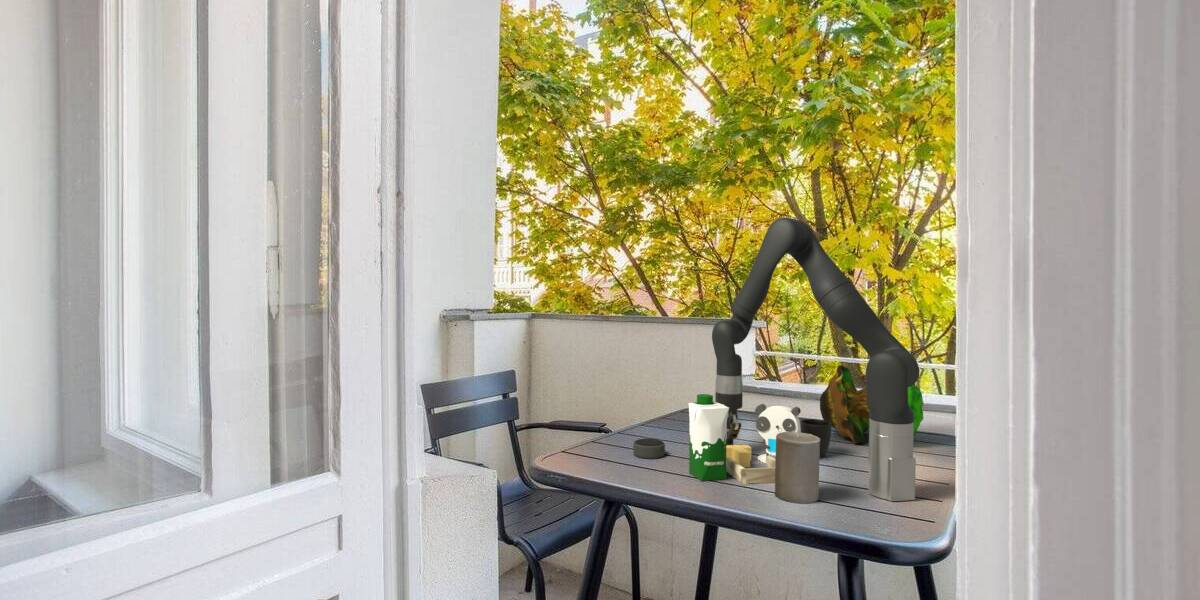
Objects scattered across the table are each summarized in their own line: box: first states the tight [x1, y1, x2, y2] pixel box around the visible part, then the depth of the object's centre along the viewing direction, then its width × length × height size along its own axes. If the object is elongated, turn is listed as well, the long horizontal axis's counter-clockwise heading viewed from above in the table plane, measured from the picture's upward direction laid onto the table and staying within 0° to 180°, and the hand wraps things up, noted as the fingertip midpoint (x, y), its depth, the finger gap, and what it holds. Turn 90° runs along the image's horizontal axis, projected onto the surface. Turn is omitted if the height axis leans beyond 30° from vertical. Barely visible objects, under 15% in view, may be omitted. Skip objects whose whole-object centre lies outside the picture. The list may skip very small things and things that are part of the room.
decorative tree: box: [819, 364, 925, 445], centre depth 191 cm, size 27×28×30 cm
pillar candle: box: [774, 431, 821, 505], centre depth 138 cm, size 10×10×15 cm
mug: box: [799, 418, 832, 459], centre depth 175 cm, size 8×12×10 cm
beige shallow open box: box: [726, 456, 775, 485], centre depth 153 cm, size 11×12×4 cm
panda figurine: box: [754, 403, 802, 464], centre depth 167 cm, size 12×11×15 cm
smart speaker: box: [632, 438, 666, 460], centre depth 172 cm, size 9×9×4 cm
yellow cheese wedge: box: [726, 444, 752, 469], centre depth 164 cm, size 8×8×4 cm
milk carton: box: [688, 393, 729, 482], centre depth 153 cm, size 9×9×20 cm
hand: (728, 451), depth 172 cm, fingers closed
